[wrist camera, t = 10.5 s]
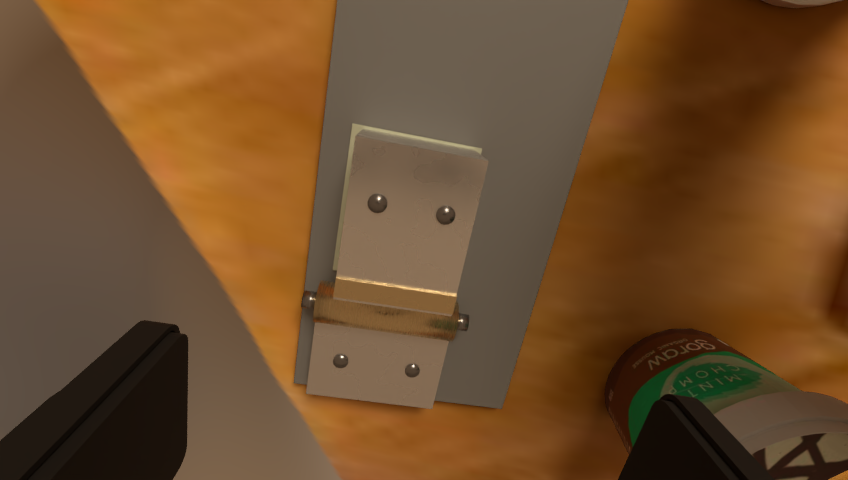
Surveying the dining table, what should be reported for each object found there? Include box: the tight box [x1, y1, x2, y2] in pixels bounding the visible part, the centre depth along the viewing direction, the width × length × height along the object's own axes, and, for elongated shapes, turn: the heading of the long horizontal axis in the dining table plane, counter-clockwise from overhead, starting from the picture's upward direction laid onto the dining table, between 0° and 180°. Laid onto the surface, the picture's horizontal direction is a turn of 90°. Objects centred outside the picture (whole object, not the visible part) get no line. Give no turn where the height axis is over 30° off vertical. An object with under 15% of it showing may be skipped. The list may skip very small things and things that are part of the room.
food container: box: [605, 329, 848, 480], centre depth 25 cm, size 12×6×10 cm, turn 122°
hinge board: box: [294, 0, 628, 409], centre depth 24 cm, size 14×28×1 cm, turn 169°
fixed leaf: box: [301, 280, 469, 409], centre depth 25 cm, size 10×8×2 cm
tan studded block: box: [333, 128, 489, 316], centre depth 22 cm, size 6×8×4 cm
